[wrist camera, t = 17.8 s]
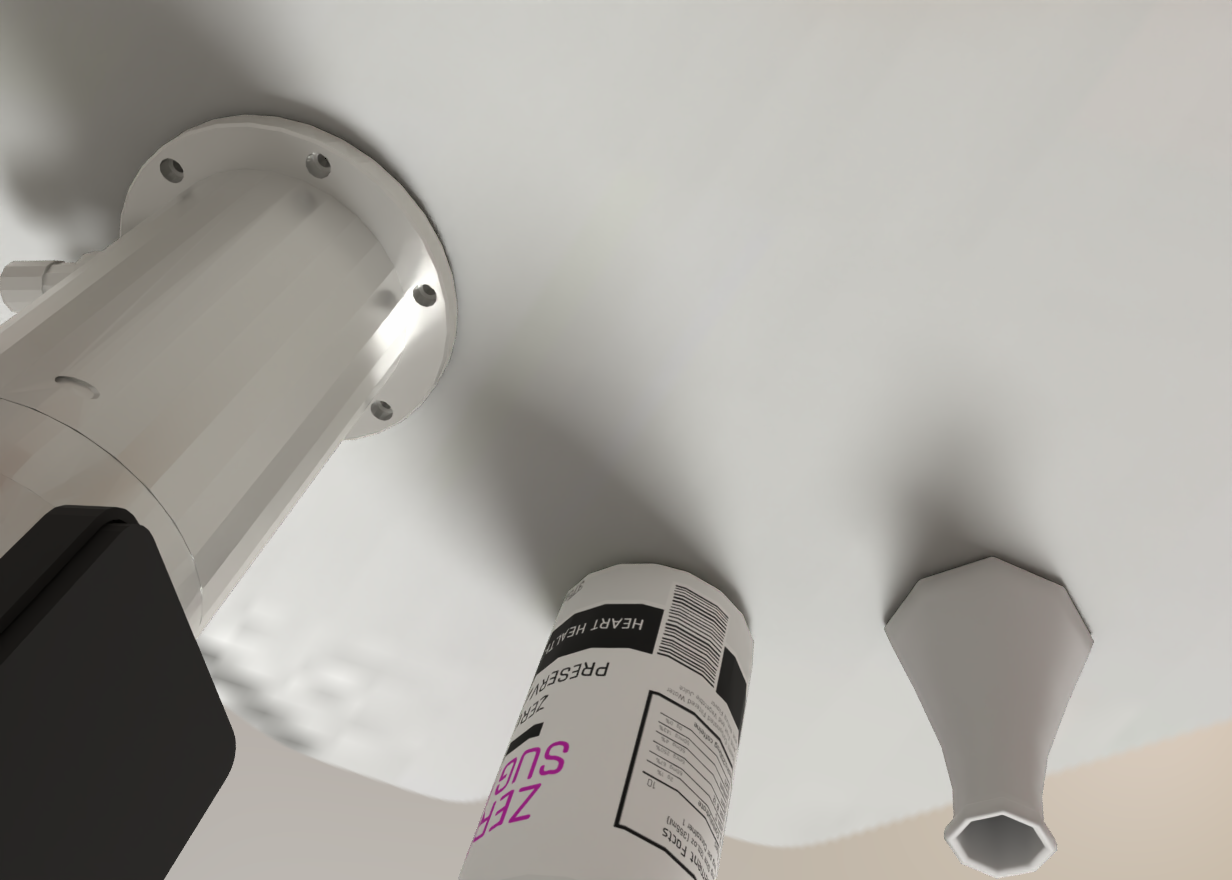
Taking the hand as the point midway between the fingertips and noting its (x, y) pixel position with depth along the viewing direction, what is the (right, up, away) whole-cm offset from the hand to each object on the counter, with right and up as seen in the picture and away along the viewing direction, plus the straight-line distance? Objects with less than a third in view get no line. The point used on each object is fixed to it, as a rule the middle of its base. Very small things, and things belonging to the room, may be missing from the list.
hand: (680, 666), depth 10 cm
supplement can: (+1, -6, +39) cm, 39 cm away
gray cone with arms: (+14, -5, +35) cm, 38 cm away
